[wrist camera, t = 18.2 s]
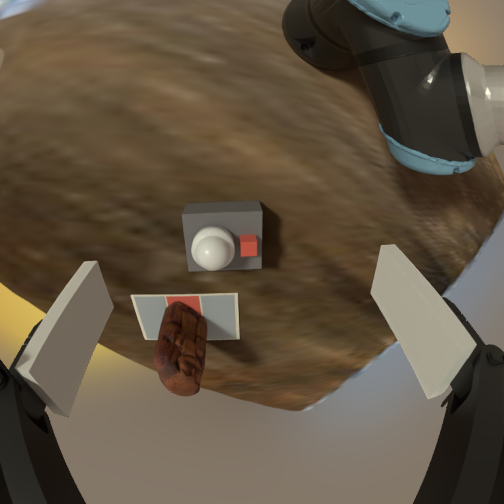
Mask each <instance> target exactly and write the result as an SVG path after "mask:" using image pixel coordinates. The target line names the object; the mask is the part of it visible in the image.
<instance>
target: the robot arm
mask: <svg viewBox="0 0 504 504" xmlns="http://www.w3.org/2000/svg"><path fill="white" fill-rule="evenodd" d="M449 14H450V7H449V4H448V1H447V0H292V1H291V2H290V3H289V5H288V6H287V8H286V10H285V12H284V15H283V20H282V27H283V32H284V36H285V38H286V40H287V42H288V44H289V45H290V47H291V48H292V49H293V50H294V52H295V53H296V54H297V55H298V56H300V57H301V58H302V59H303V60H305V61H306V62H308V63H310V64H312V65H314V66H316V67H319V68H322V69H326V70H332V71H341V70H347V69H351V68H354V67H357V66H358V69H359V71H360V73H361V76H362V78H363V80H364V83H365V85H366V88H367V90H368V93H369V95H370V98H371V100H372V103H373V105H374V108H375V111H376V114H377V116H378V119H379V127H380V130H381V132H382V133H383V135H384V136H385V139H386V141H387V144H388V147H389V150H390V152H391V154H392V155H393V157H395V158H396V160H397V161H398V162H399V163H401V164H402V165H404V166H406V167H407V168H410V169H412V170H415V171H418V172H422V173H427V174H433V175H452V174H453V172H457V173H463V172H466V171H468V170H470V169H471V168H472V167H473V166H474V165H475V163H476V160H477V157H488V156H489V155H490V154H491V153H492V152H493V150H494V149H495V148H496V147H497V146H499V145H504V65H482V64H480V63H479V62H478V61H476V60H475V59H474V58H472V57H471V56H470V55H468V54H467V53H464V52H463V53H450V51H449V49H448V46H447V44H446V41H445V38H444V36H443V32H444V31H445V29H446V28H447V27H448V25H449V23H450V18H449V16H448V15H449ZM371 295H372V297H373V298H374V300H375V302H376V303H377V305H378V307H379V308H380V310H381V312H382V313H383V315H384V317H385V319H386V320H387V322H388V324H389V326H390V327H391V329H392V331H393V333H394V334H395V336H396V338H397V340H398V342H399V344H400V345H401V347H402V349H403V351H404V353H405V355H406V357H407V358H408V360H409V362H410V364H411V366H412V368H413V370H414V372H415V374H416V376H417V378H418V380H419V382H420V384H421V386H422V388H423V390H424V392H425V394H426V396H427V398H428V399H430V398H433V397H435V396H437V395H440V394H443V392H444V391H445V390H446V389H447V387H448V386H449V385H451V387H452V389H453V390H452V391H451V393H450V394H449V395H448V396H447V398H446V399H445V400H444V401H443V403H442V405H441V407H443V406H444V405H445V404H446V403H447V402H448V405H447V407H446V408H447V409H446V413H445V417H444V420H443V424H442V428H441V431H440V435H439V438H438V442H437V444H436V448H435V450H434V453H433V456H432V459H431V462H430V465H429V467H428V470H427V472H426V475H425V478H424V480H423V482H422V485H421V487H420V489H419V491H418V494H417V496H416V498H415V500H414V502H413V504H504V352H503V351H502V350H501V349H500V348H499V347H497V346H495V345H490V344H489V345H485V344H484V343H483V341H482V340H481V338H480V337H479V335H478V334H477V333H476V331H475V330H474V329H473V327H472V326H471V325H470V323H469V322H468V321H466V318H465V317H464V316H463V314H461V312H460V311H459V309H458V308H457V307H456V306H455V304H454V303H452V302H451V301H449V300H448V299H447V298H445V297H443V298H441V296H440V295H439V294H438V293H437V292H436V290H435V289H434V288H433V287H432V286H431V284H430V283H429V282H428V281H427V280H426V279H425V277H424V276H423V275H422V274H421V273H420V272H419V271H418V269H417V268H416V267H415V266H414V265H413V264H412V263H411V262H410V260H409V259H408V258H407V257H406V256H405V255H404V254H403V253H402V252H401V251H400V250H399V249H398V248H397V246H396V245H381V248H380V253H379V258H378V263H377V267H376V272H375V276H374V280H373V285H372V289H371ZM113 307H114V306H113V304H112V301H111V299H110V296H109V293H108V291H107V288H106V285H105V283H104V280H103V277H102V274H101V271H100V268H99V265H98V262H97V261H87V262H84V263H83V264H82V265H81V267H80V268H79V269H78V271H77V272H76V273H75V274H74V276H73V277H72V279H71V280H70V281H69V283H68V284H67V285H66V287H65V288H64V289H63V291H62V292H61V294H60V295H59V297H58V298H57V299H56V301H55V302H54V304H53V305H52V307H51V308H50V310H49V311H48V313H47V314H46V316H45V317H44V319H42V320H41V321H40V322H39V323H38V324H37V325H35V326H34V327H33V329H32V331H31V332H30V334H29V335H28V338H27V339H26V340H25V342H24V345H22V347H21V349H20V351H19V352H18V354H17V356H16V358H15V359H14V361H13V363H12V365H11V367H10V369H9V370H8V369H7V368H6V366H5V365H4V364H3V362H2V361H1V360H0V504H86V503H85V501H84V499H83V497H82V495H81V493H80V492H79V490H78V488H77V486H76V484H75V482H74V480H73V478H72V476H71V473H70V471H69V469H68V467H67V465H66V463H65V460H64V458H63V455H62V453H61V450H60V448H59V445H58V443H57V440H56V437H55V435H54V432H53V429H52V426H51V423H50V420H49V417H48V415H47V413H46V412H45V411H44V410H45V407H46V405H47V406H48V407H49V408H50V409H51V410H52V411H53V412H54V413H55V414H59V415H63V416H66V417H69V414H70V412H71V409H72V406H73V403H74V400H75V397H76V395H77V392H78V389H79V386H80V384H81V381H82V379H83V376H84V374H85V371H86V369H87V366H88V364H89V361H90V359H91V356H92V354H93V351H94V349H95V347H96V345H97V342H98V340H99V338H100V335H101V333H102V331H103V329H104V327H105V324H106V322H107V320H108V318H109V316H110V314H111V312H112V310H113Z"/></svg>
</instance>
